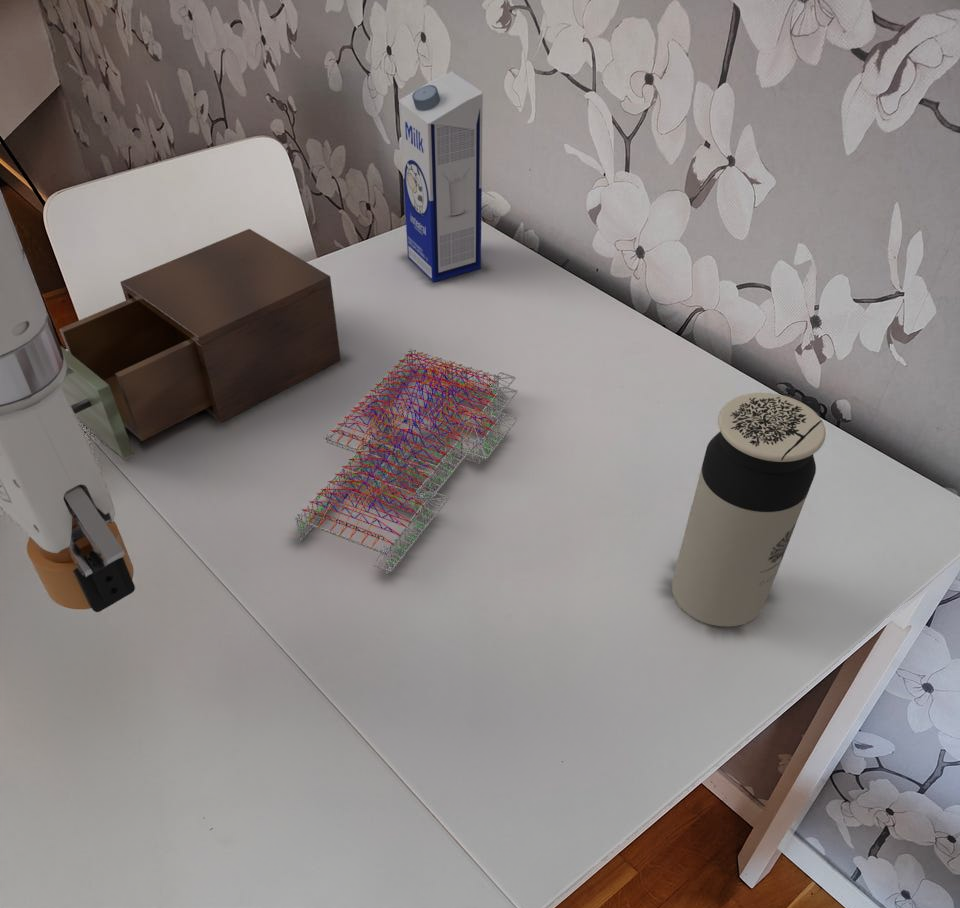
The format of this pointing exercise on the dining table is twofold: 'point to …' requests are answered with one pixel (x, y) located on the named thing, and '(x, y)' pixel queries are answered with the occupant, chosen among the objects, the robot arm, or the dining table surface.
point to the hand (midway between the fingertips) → (88, 572)
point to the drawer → (131, 374)
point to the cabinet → (245, 316)
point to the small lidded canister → (67, 570)
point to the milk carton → (443, 176)
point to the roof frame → (405, 458)
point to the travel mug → (746, 506)
